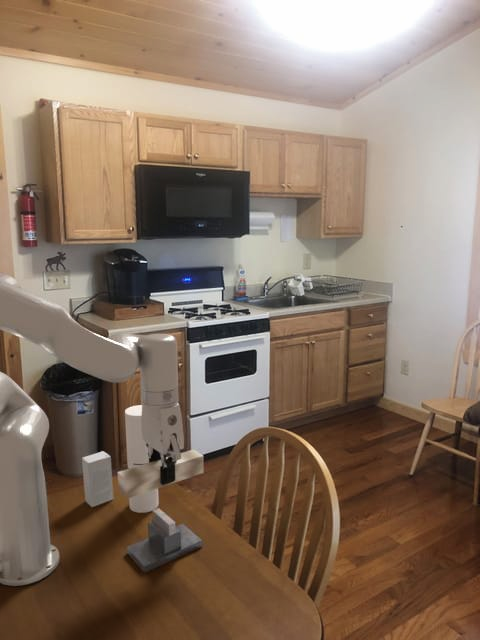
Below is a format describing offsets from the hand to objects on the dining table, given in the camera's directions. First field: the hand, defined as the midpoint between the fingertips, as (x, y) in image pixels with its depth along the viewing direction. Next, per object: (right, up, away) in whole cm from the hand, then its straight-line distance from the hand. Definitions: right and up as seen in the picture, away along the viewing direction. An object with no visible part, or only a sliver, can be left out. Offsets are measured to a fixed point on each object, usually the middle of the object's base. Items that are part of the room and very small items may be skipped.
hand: (162, 477), depth 109 cm
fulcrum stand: (0, -17, +3) cm, 17 cm away
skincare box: (-20, -13, +23) cm, 33 cm away
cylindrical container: (-8, -13, +21) cm, 26 cm away
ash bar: (0, -1, 0) cm, 1 cm away
